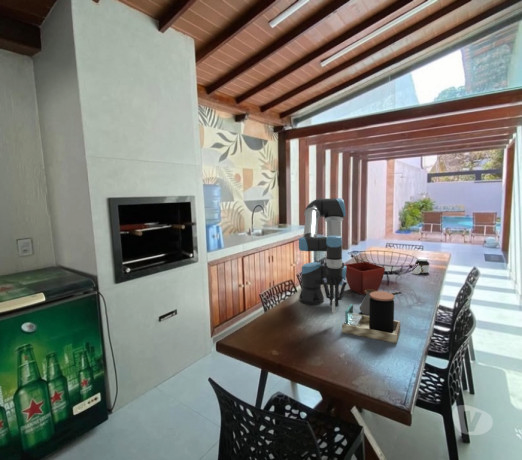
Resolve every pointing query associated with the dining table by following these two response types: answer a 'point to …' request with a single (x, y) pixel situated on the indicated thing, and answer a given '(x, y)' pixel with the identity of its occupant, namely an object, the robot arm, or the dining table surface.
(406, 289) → the dining table surface
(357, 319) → the teal piece
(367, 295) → the coffee pot
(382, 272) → the plant pot
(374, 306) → the coffee jar
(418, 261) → the spread jar
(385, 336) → the channel
